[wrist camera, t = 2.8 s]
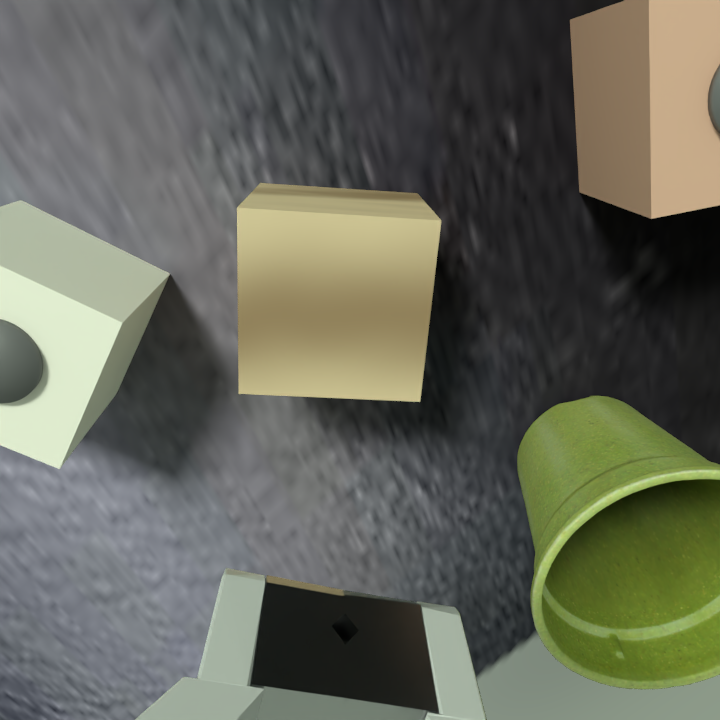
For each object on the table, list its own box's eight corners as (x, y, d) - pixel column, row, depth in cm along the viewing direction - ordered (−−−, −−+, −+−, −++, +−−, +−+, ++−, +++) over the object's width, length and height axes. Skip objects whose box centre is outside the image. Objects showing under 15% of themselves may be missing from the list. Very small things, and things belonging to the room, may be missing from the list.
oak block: (260, 182, 23) (236, 207, 18) (417, 193, 24) (441, 220, 18) (259, 331, 26) (238, 393, 20) (402, 338, 26) (420, 401, 21)
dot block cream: (21, 200, 23) (-82, 232, 18) (170, 273, 25) (119, 326, 19) (-23, 331, 25) (-130, 399, 20) (117, 392, 27) (55, 474, 21)
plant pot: (601, 562, 31) (694, 722, 23) (441, 492, 29) (480, 640, 21) (725, 414, 28) (880, 540, 20) (554, 324, 26) (651, 423, 18)
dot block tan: (569, 20, 22) (654, -11, 16) (740, -17, 21) (891, -61, 16) (578, 192, 24) (656, 220, 18) (734, 160, 24) (862, 178, 18)
